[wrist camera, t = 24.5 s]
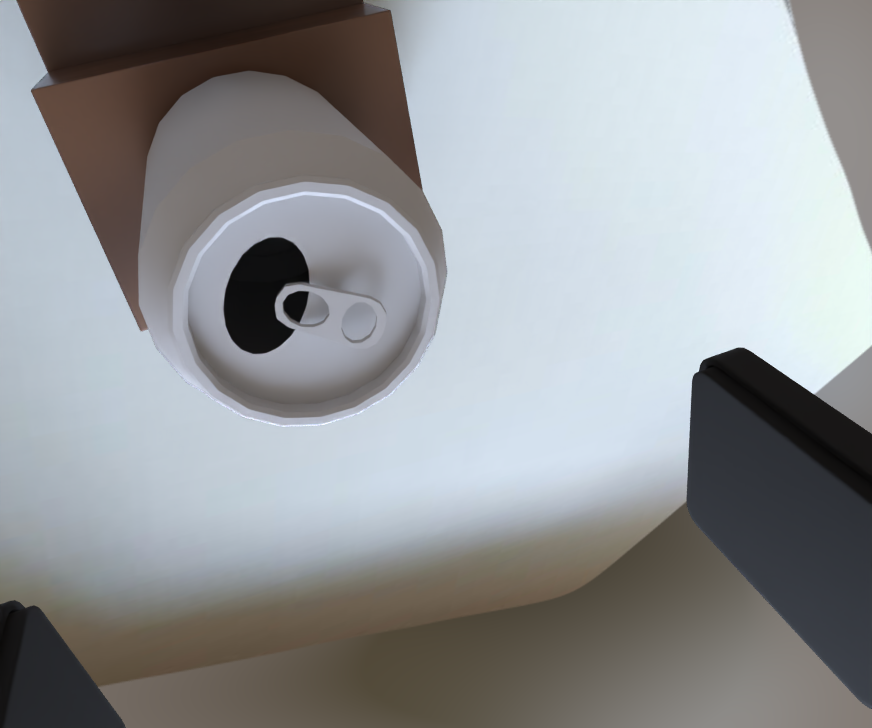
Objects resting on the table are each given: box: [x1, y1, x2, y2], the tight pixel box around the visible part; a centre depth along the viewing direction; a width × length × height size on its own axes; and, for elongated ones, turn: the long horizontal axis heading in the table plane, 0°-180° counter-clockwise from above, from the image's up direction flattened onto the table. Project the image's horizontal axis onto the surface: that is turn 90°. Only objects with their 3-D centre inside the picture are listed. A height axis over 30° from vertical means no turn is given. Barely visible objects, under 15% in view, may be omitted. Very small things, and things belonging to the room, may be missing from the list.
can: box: [138, 71, 447, 426], centre depth 21 cm, size 8×8×12 cm
